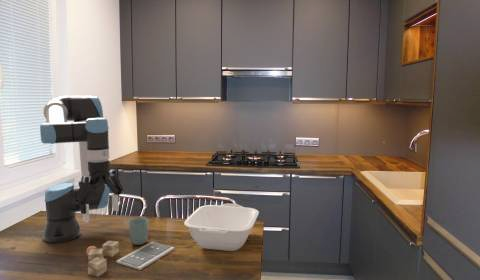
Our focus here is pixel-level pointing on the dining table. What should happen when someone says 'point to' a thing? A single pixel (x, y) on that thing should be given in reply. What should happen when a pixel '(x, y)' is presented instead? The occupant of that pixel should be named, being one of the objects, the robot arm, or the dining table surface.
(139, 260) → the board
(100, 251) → the block
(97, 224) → the dining table surface
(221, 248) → the baking dish
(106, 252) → the block
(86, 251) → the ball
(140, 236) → the cup
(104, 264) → the block
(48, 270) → the dining table surface
